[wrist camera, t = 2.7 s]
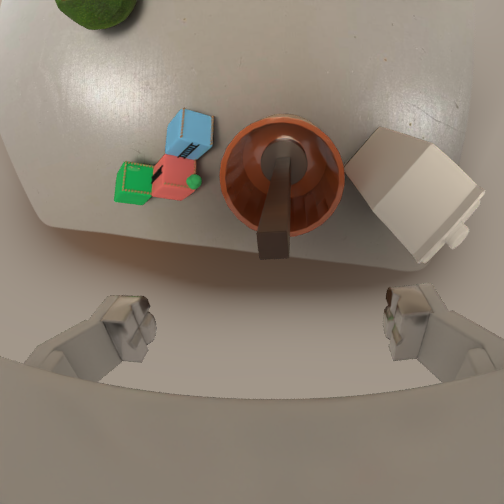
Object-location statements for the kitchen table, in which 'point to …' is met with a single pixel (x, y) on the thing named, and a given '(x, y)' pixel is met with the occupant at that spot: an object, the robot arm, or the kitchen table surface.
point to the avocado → (96, 12)
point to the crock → (302, 193)
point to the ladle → (279, 196)
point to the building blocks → (169, 163)
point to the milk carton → (414, 191)
